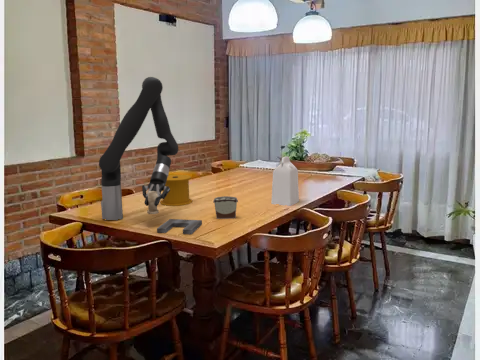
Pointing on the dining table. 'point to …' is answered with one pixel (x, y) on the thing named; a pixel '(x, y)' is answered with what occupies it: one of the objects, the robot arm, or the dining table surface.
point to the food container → (225, 207)
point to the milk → (285, 184)
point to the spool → (177, 190)
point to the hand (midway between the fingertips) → (151, 205)
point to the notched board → (180, 225)
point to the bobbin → (152, 202)
